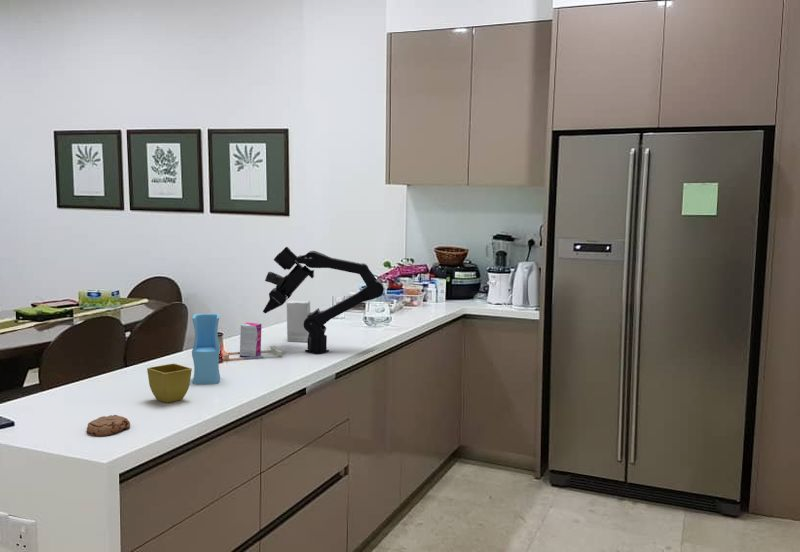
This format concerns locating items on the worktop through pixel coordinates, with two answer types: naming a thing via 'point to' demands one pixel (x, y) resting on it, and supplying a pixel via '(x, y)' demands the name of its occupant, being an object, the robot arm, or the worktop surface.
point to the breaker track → (273, 349)
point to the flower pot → (169, 381)
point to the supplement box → (250, 340)
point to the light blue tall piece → (206, 349)
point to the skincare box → (297, 320)
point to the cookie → (107, 425)
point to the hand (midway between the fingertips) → (266, 310)
